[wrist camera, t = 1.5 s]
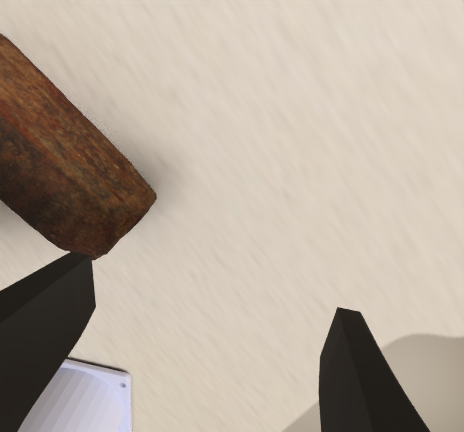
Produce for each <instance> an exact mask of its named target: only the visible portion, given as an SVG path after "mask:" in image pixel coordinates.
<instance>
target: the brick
mask: <svg viewBox="0 0 464 432" xmlns="http://www.w3.org/2000/svg"><path fill="white" fill-rule="evenodd" d="M156 198H157V197H156V193H155V192H154V190H153V189H152V188H151V187H150V186H149V185H148V183H147V182H146V181H145V180H144V179H143V178H142V177H141V175H140V174H139V173H138V171H137V170H136V169H135V168H134V167H133V165H132V164H131V163H130V162H129V161H128V160H127V159H126V158H125V157H124V156H123V155H122V154H121V153H120V152H119V151H118V150H117V149H116V148H115V146H114V145H113V144H112V143H111V142H110V141H109V140H108V139H107V138H106V137H105V136H104V135H103V134H102V133H101V132H100V131H99V130H98V129H97V128H96V127H95V126H94V125H93V124H92V123H91V122H90V121H89V120H88V119H87V118H86V117H84V116H83V114H82V113H81V112H80V111H79V110H78V109H77V108H76V107H75V106H74V105H73V104H72V103H71V102H70V101H69V100H68V99H67V98H66V97H65V95H64V94H63V93H62V92H61V91H60V90H59V89H58V88H57V87H56V86H55V85H54V84H53V83H52V82H51V81H50V80H49V79H48V78H47V77H46V76H45V75H44V74H43V73H42V72H41V71H40V70H39V69H38V68H37V67H36V66H35V65H34V64H33V63H32V62H31V61H30V60H29V59H28V58H27V57H26V56H25V55H24V54H23V53H22V52H21V51H20V50H19V49H18V48H17V47H16V46H15V45H14V44H13V43H12V42H11V41H10V40H9V39H7V38H6V37H5V36H3V35H2V34H0V200H1V201H2V202H4V203H5V204H6V205H7V206H8V207H9V208H10V209H12V210H13V211H14V212H15V213H17V214H18V215H19V216H20V217H21V218H22V219H23V220H25V221H26V222H27V223H28V224H29V225H30V226H31V227H33V228H34V229H35V230H37V231H38V232H39V233H40V234H42V235H43V236H44V237H45V238H46V239H47V240H48V241H50V242H51V243H53V244H54V245H56V246H57V247H58V248H60V249H62V250H65V251H70V252H76V253H80V254H85V255H90V256H91V259H92V260H96V259H97V258H99V257H101V256H103V255H104V254H107V253H108V252H109V251H110V250H111V249H112V248H113V247H114V246H115V244H116V243H117V242H118V241H119V240H120V239H121V238H122V237H123V236H124V235H125V234H127V233H128V232H129V231H130V230H131V229H132V228H133V227H134V226H135V225H136V224H137V223H138V222H139V221H140V220H141V219H142V218H143V217H144V215H145V214H146V213H147V212H148V211H149V209H150V207H151V206H152V205H153V203H154V202H155V200H156Z"/></svg>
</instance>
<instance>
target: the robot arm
mask: <svg viewBox="0 0 464 432" xmlns="http://www.w3.org/2000/svg"><path fill="white" fill-rule="evenodd" d="M95 308H96V303H95V292H94V281H93V270H92V259H91V256H90V255H85V254H80V253H76V252H70V253H68V254H66V255H64V256H62V257H61V258H59V259H57V260H55V261H53V262H52V263H50V264H48V265H46V266H45V267H43V268H41V269H39V270H37V271H36V272H34V273H32V274H30V275H29V276H27V277H25V278H23V279H21V280H20V281H18V282H16V283H14V284H12V285H10V286H9V287H7V288H5V289H3V290H1V291H0V432H132V421H131V378H130V376H129V374H127V373H125V372H121V371H116V370H112V369H108V368H103V367H99V366H95V365H90V364H86V363H81V362H77V361H73V360H68V359H66V358H67V356H68V355H69V353H70V352H71V350H72V349H73V347H74V346H75V344H76V343H77V341H78V340H79V338H80V337H81V335H82V333H83V331H84V329H85V327H86V326H87V324H88V322H89V320H90V318H91V316H92V314H93V312H94V310H95ZM319 405H320V419H321V432H430V430H429V429H428V428H427V426H426V425H425V423H424V422H423V420H422V419H421V417H420V416H419V414H418V413H417V411H416V409H415V408H414V406H413V405H412V403H411V402H410V400H409V399H408V397H407V395H406V394H405V392H404V390H403V389H402V387H401V385H400V384H399V382H398V380H397V379H396V377H395V376H394V374H393V372H392V370H391V369H390V367H389V365H388V363H387V361H386V360H385V358H384V356H383V354H382V352H381V350H380V349H379V347H378V345H377V343H376V341H375V339H374V337H373V335H372V333H371V331H370V330H369V328H368V326H367V324H366V322H365V320H364V318H363V316H362V314H361V313H360V312H358V311H353V310H349V309H344V308H339V307H337V310H336V313H335V316H334V319H333V322H332V324H331V327H330V330H329V333H328V336H327V339H326V341H325V344H324V347H323V350H322V353H321V356H320V371H319Z"/></svg>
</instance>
